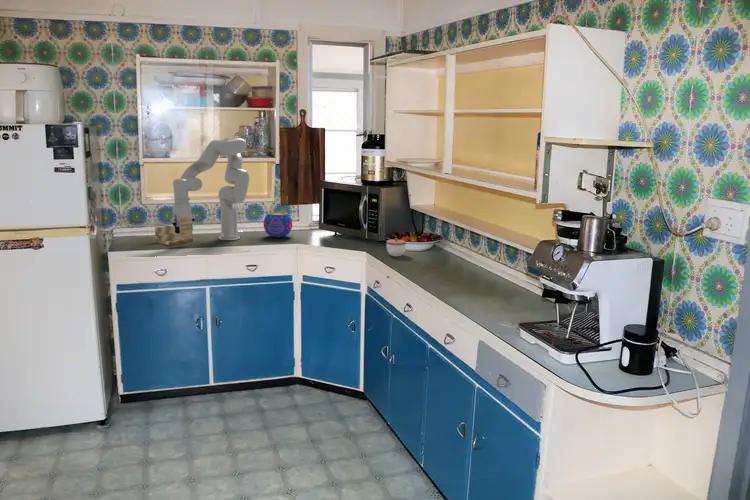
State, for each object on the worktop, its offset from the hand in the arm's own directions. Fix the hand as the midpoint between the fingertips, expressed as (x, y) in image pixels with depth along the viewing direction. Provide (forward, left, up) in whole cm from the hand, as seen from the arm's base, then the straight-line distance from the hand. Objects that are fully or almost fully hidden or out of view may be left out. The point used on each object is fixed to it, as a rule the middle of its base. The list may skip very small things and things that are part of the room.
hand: (184, 231), depth 363 cm
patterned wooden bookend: (-3, -13, -8) cm, 16 cm away
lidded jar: (-63, +101, -9) cm, 120 cm away
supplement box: (0, 0, -5) cm, 5 cm away
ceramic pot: (-56, +18, -9) cm, 59 cm away
